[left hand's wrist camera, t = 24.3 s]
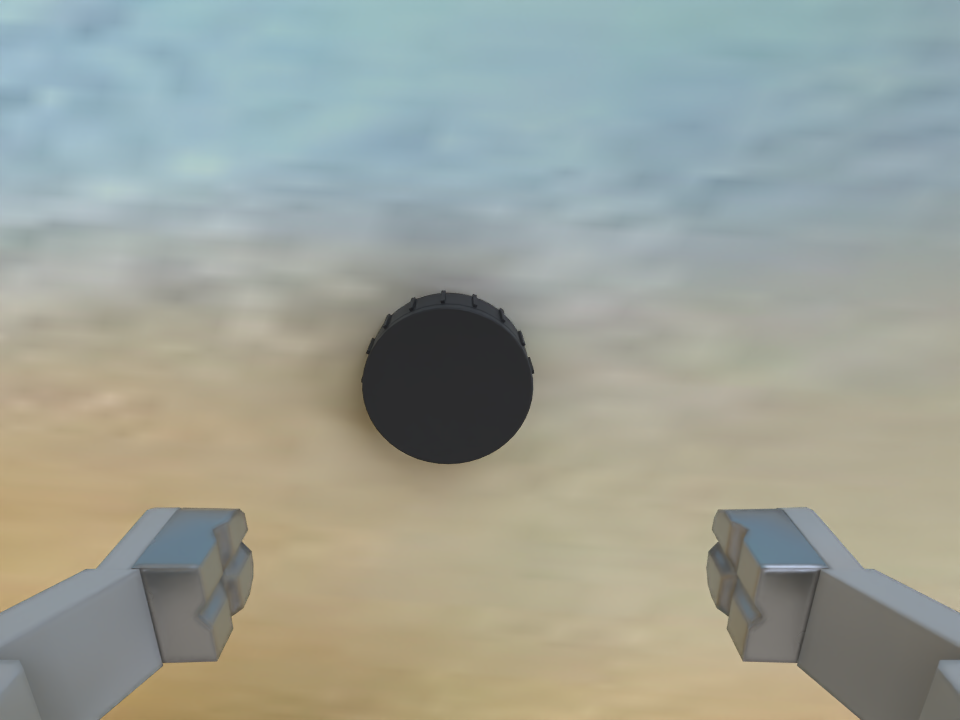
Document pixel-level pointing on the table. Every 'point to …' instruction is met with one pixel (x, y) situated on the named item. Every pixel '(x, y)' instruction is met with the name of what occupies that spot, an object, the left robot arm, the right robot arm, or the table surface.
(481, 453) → the lid
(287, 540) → the table surface
